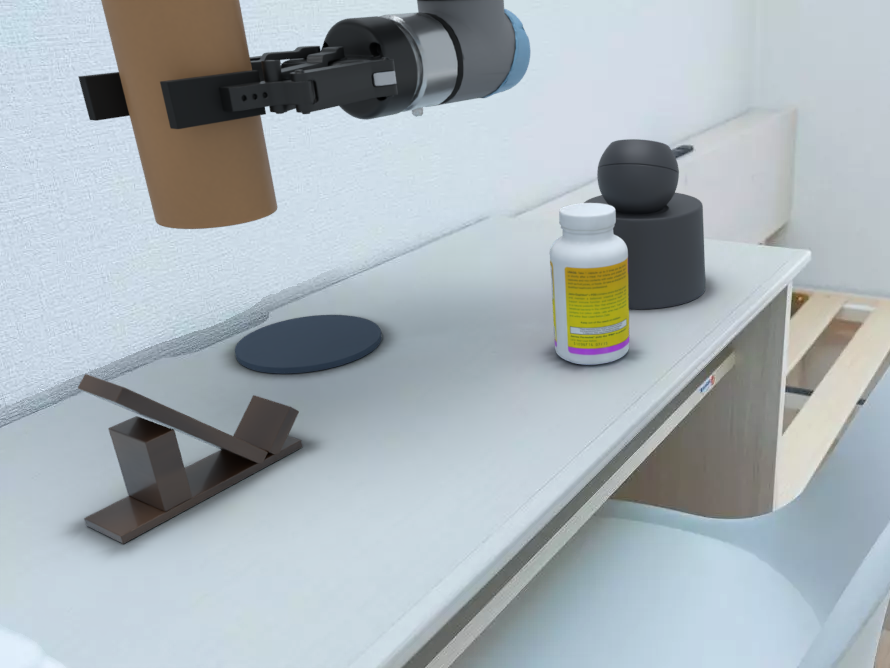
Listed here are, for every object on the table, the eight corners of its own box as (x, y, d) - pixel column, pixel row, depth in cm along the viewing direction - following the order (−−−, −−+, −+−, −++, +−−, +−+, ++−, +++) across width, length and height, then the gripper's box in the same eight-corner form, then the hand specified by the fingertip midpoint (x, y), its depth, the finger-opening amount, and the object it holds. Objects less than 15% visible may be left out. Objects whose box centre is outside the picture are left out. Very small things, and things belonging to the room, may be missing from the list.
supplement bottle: (644, 355, 78) (644, 210, 73) (581, 374, 75) (575, 223, 70) (601, 333, 84) (597, 195, 78) (540, 349, 80) (532, 207, 75)
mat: (205, 356, 81) (203, 350, 81) (315, 312, 91) (314, 306, 91) (303, 385, 75) (302, 378, 74) (410, 334, 84) (410, 328, 84)
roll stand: (85, 525, 56) (41, 390, 52) (269, 433, 67) (244, 314, 63) (123, 544, 54) (79, 404, 50) (306, 445, 65) (282, 324, 61)
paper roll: (-8, 131, 53) (118, -73, 57) (195, 261, 66) (287, 88, 70) (65, 141, 49) (195, -79, 53) (266, 276, 62) (359, 93, 66)
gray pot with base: (718, 121, 93) (699, 146, 81) (713, 268, 100) (696, 312, 88) (594, 120, 96) (557, 144, 84) (598, 263, 103) (564, 305, 91)
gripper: (491, 121, 69) (247, 178, 52) (308, 107, 79) (53, 150, 62) (483, 16, 66) (220, 39, 49) (293, 15, 76) (20, 35, 59)
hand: (126, 101), depth 56 cm, fingers closed on paper roll, 8 cm apart
